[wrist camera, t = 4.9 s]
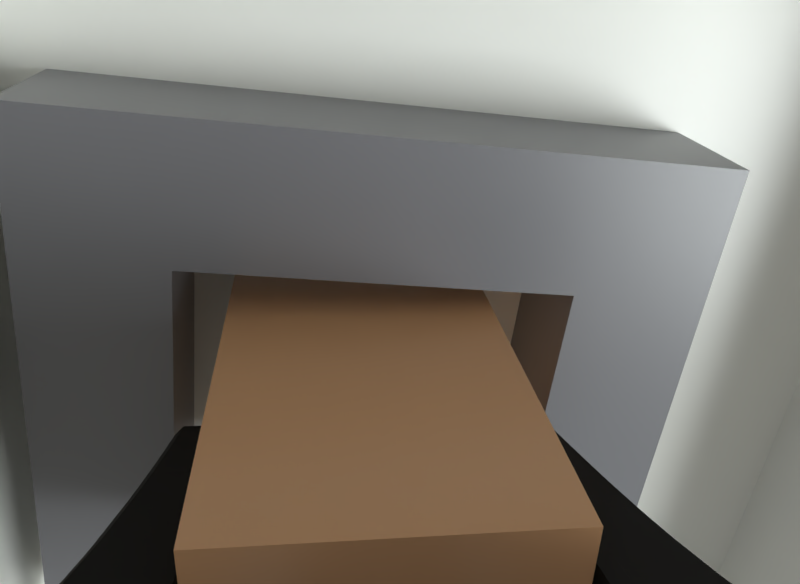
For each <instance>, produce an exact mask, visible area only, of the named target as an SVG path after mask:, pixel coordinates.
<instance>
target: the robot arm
mask: <svg viewBox="0 0 800 584" xmlns="http://www.w3.org/2000/svg"><path fill="white" fill-rule="evenodd" d="M200 429H201V426H184V427H182V428H181V429H180V430H179V431H178V432H177V433H176V434H175V435H174V437H173V438H172V440H171V441H170V443H169V444H168V446H167V447H166V449H165V450H164V452H163V453H162V455H161V456H160V458H159V459H158V461H157V462H156V463H155V465H154V466H153V468H152V469H151V470H150V472H149V473H148V475H147V476H146V477H145V479H144V480H143V481H142V483H141V484H140V485H139V487H138V488H137V490H136V491H135V492H134V494H133V495H132V496H131V498H130V499H129V500H128V502H127V503H126V504H125V505H124V507H123V508H122V509H121V510H120V512H119V513H118V514H117V516H116V517H115V518H114V519H113V521H112V522H111V523H110V524H109V526H108V527H107V528H106V529H105V531H104V532H103V533H102V534H101V536H100V537H99V538H98V540H97V541H96V542H95V543H94V544H93V546H92V547H91V548H90V549H89V551H88V552H87V553H86V554H85V555H84V556H83V558H82V559H81V560H80V561H79V562H78V563H77V564H76V566H75V567H74V568H73V569H72V570H71V571H70V572H69V574H68V575H67V576H66V577H65V578H64V579H63V580H62V581H61V583H60V584H178V583H177V575H176V567H175V559H174V551H173V550H174V546H175V541H176V537H177V532H178V528H179V523H180V519H181V514H182V510H183V505H184V501H185V496H186V492H187V487H188V483H189V478H190V474H191V469H192V465H193V460H194V456H195V451H196V447H197V443H198V438H199V434H200ZM555 432H556V431H555ZM556 434H557V436H558V438H559V440H560V442H561V444H562V446H563V448H564V450H565V452H566V454H567V456H568V458H569V460H570V462H571V464H572V466H573V468H574V470H575V472H576V474H577V476H578V478H579V480H580V481H581V483H582V485H583V487H584V489H585V491H586V493H587V495H588V497H589V499H590V501H591V503H592V505H593V507H594V509H595V511H596V513H597V515H598V517H599V519H600V521H601V523H602V525H603V532H602V537H601V542H600V547H599V552H598V557H597V562H596V567H595V572H594V577H593V582H592V584H732V583H730V582H729V581H728V580H726V579H725V578H724V577H722V576H721V575H720V574H718V573H717V572H716V571H714V570H713V569H712V568H711V567H709V566H708V565H707V564H706V563H704V562H703V561H702V560H701V559H699V558H698V557H697V556H696V555H694V554H693V553H692V552H691V551H689V550H688V549H687V548H686V547H684V546H683V545H682V544H681V543H679V542H678V541H677V540H676V539H674V538H673V537H672V536H671V535H669V534H668V533H667V532H666V531H665V530H664V529H662V528H661V527H660V526H659V525H658V524H656V523H655V522H654V521H653V520H652V519H650V518H649V517H648V516H647V515H646V514H645V513H644V512H642V511H641V510H640V509H639V508H638V507H637V506H636V505H634V504H633V503H632V502H631V501H630V500H629V499H628V498H627V497H625V496H624V495H623V494H622V493H621V492H620V491H619V490H618V489H617V488H615V487H614V486H613V485H612V484H611V483H610V482H609V481H608V480H607V479H606V478H605V477H603V476H602V475H601V474H600V473H599V472H598V471H597V470H596V469H595V468H594V467H593V466H592V465H591V464H590V463H588V462H587V461H586V460H585V459H584V458H583V457H582V456H581V455H580V454H579V453H578V452H577V451H576V450H575V449H574V448H573V447H571V446H570V445H569V444H568V443H567V442H566V441H565V440H564V439H563V438H562V437H561V436H560V435H559V434H558V433H557V432H556Z"/></svg>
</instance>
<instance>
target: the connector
mask: <svg viewBox="0 0 800 584" xmlns="http://www.w3.org/2000/svg"><path fill="white" fill-rule="evenodd" d="M602 532H603V525H602V523H601V521H600V519H599V517H598V515H597V513H596V511H595V509H594V507H593V505H592V503H591V501H590V499H589V497H588V495H587V493H586V491H585V489H584V487H583V485H582V483H581V481H580V480H579V478H578V476H577V474H576V472H575V470H574V468H573V466H572V464H571V462H570V460H569V458H568V456H567V454H566V452H565V450H564V448H563V446H562V444H561V442H560V440H559V438H558V436H557V434H556V432H555V430H554V429H553V427H552V425H551V423H550V421H549V419H548V417H547V415H546V413H545V411H544V409H543V407H542V405H541V403H540V401H539V399H538V397H537V395H536V393H535V391H534V389H533V387H532V385H531V383H530V381H529V379H528V378H527V376H526V374H525V372H524V370H523V368H522V366H521V364H520V362H519V360H518V358H517V356H516V354H515V352H514V350H513V348H512V346H511V344H510V342H509V340H508V338H507V336H506V334H505V332H504V330H503V328H502V327H501V325H500V323H499V321H498V319H497V317H496V315H495V313H494V311H493V309H492V307H491V305H490V303H489V301H488V299H487V297H486V295H485V293H484V291H483V290H471V289H455V288H439V287H423V286H407V285H391V284H375V283H359V282H343V281H326V280H310V279H294V278H278V277H262V276H246V275H235V277H234V281H233V286H232V290H231V295H230V299H229V304H228V308H227V313H226V317H225V322H224V326H223V330H222V335H221V339H220V344H219V348H218V353H217V357H216V362H215V366H214V371H213V375H212V380H211V384H210V389H209V393H208V398H207V402H206V407H205V411H204V416H203V420H202V425H201V429H200V434H199V438H198V443H197V447H196V451H195V456H194V460H193V465H192V469H191V474H190V478H189V483H188V487H187V492H186V496H185V501H184V505H183V510H182V514H181V519H180V523H179V528H178V532H177V537H176V541H175V546H174V550H173V551H174V559H175V567H176V575H177V583H178V584H592V582H593V577H594V572H595V567H596V562H597V557H598V552H599V547H600V542H601V537H602Z"/></svg>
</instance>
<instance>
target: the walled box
mask: <svg viewBox="0 0 800 584" xmlns="http://www.w3.org/2000/svg"><path fill="white" fill-rule="evenodd" d="M45 69H55V70H65V71H75V72H85V73H95V74H105V75H115V76H125V77H135V78H145V79H155V80H164V81H174V82H184V83H194V84H204V85H214V86H224V87H234V88H244V89H254V90H263V91H273V92H283V93H293V94H303V95H313V96H323V97H333V98H343V99H353V100H363V101H372V102H382V103H392V104H402V105H412V106H422V107H432V108H442V109H452V110H462V111H471V112H481V113H491V114H501V115H511V116H521V117H531V118H541V119H551V120H561V121H571V122H580V123H590V124H600V125H610V126H620V127H630V128H640V129H650V130H660V131H670V132H678V133H680V134H682V135H684V136H686V137H688V138H690V139H691V140H693V141H695V142H697V143H699V144H701V145H703V146H705V147H706V148H708V149H710V150H712V151H714V152H716V153H718V154H720V155H721V156H723V157H725V158H727V159H729V160H731V161H733V162H735V163H736V164H738V165H740V166H742V167H744V168H746V169H748V170H750V171H749V174H748V177H747V180H746V183H745V186H744V189H743V192H742V195H741V198H740V201H739V204H738V207H737V210H736V213H735V216H734V219H733V222H732V225H731V228H730V231H729V234H728V237H727V240H726V243H725V246H724V249H723V252H722V255H721V258H720V261H719V264H718V266H717V269H716V272H715V275H714V278H713V281H712V284H711V287H710V290H709V293H708V296H707V299H706V302H705V305H704V308H703V311H702V314H701V317H700V320H699V323H698V326H697V329H696V332H695V335H694V338H693V341H692V344H691V347H690V350H689V353H688V356H687V359H686V362H685V365H684V368H683V371H682V374H681V377H680V380H679V383H678V386H677V389H676V392H675V395H674V398H673V401H672V404H671V407H670V410H669V413H668V416H667V419H666V422H665V425H664V428H663V431H662V434H661V437H660V439H659V442H658V445H657V448H656V451H655V454H654V457H653V460H652V463H651V466H650V469H649V472H648V475H647V478H646V481H645V484H644V487H643V490H642V493H641V496H640V499H639V502H638V505H637V507H638V508H639V509H640V510H641V511H642V512H644V513H645V514H646V515H647V516H648V517H649V518H650V519H652V520H653V521H654V522H655V523H656V524H658V525H659V526H660V527H661V528H662V529H664V530H665V531H666V532H667V533H668V534H669V535H671V536H672V537H673V538H674V539H676V540H677V541H678V542H679V543H681V544H682V545H683V546H684V547H686V548H687V549H688V550H689V551H691V552H692V553H693V554H694V555H696V556H697V557H698V558H699V559H701V560H702V561H703V562H704V563H706V564H707V565H708V566H709V567H711V568H712V569H713V570H714V571H716V572H717V573H718V574H720V575H721V576H722V577H724V578H725V579H726V580H728V581H729V582H730V583H732V584H800V0H0V92H2V91H4V90H6V89H8V88H10V87H12V86H14V85H16V84H18V83H19V82H21V81H23V80H25V79H27V78H29V77H31V76H33V75H35V74H37V73H39V72H41V71H43V70H45ZM234 277H235V275H230V274H214V273H198V272H194V426H201V425H202V420H203V416H204V411H205V407H206V402H207V398H208V393H209V389H210V384H211V380H212V375H213V371H214V366H215V362H216V357H217V353H218V348H219V344H220V339H221V335H222V330H223V326H224V322H225V317H226V313H227V308H228V304H229V299H230V295H231V290H232V286H233V281H234ZM483 291H484V293H485V295H486V297H487V299H488V301H489V303H490V305H491V307H492V309H493V311H494V313H495V315H496V317H497V319H498V321H499V323H500V325H501V327H502V328H503V330H504V332H505V334H506V336H507V338H508V340H509V342H510V344H511V340H512V335H513V330H514V326H515V321H516V316H517V312H518V307H519V302H520V298H521V293H519V292H503V291H487V290H483ZM0 584H45V582H44V574H43V566H42V557H41V549H40V540H39V532H38V523H37V515H36V506H35V498H34V490H33V481H32V473H31V464H30V456H29V447H28V439H27V431H26V422H25V414H24V405H23V397H22V388H21V380H20V371H19V363H18V355H17V346H16V338H15V329H14V321H13V312H12V304H11V296H10V287H9V279H8V270H7V262H6V253H5V245H4V236H3V228H2V220H1V211H0Z"/></svg>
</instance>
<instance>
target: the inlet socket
mask: <svg viewBox="0 0 800 584" xmlns="http://www.w3.org/2000/svg"><path fill="white" fill-rule="evenodd" d="M749 171H750V170H748V169H746V168H744V167H742V166H740V165H738V164H736V163H735V162H733V161H731V160H729V159H727V158H725V157H723V156H721V155H720V154H718V153H716V152H714V151H712V150H710V149H708V148H706V147H705V146H703V145H701V144H699V143H697V142H695V141H693V140H691V139H690V138H688V137H686V136H684V135H682V134H680V133H678V132H670V131H660V130H650V129H640V128H630V127H620V126H610V125H600V124H590V123H580V122H571V121H561V120H551V119H541V118H531V117H521V116H511V115H501V114H491V113H481V112H471V111H462V110H452V109H442V108H432V107H422V106H412V105H402V104H392V103H382V102H372V101H363V100H353V99H343V98H333V97H323V96H313V95H303V94H293V93H283V92H273V91H263V90H254V89H244V88H234V87H224V86H214V85H204V84H194V83H184V82H174V81H164V80H155V79H145V78H135V77H125V76H115V75H105V74H95V73H85V72H75V71H65V70H55V69H45V70H43V71H41V72H39V73H37V74H35V75H33V76H31V77H29V78H27V79H25V80H23V81H21V82H19V83H18V84H16V85H14V86H12V87H10V88H8V89H6V90H4V91H2V92H0V211H1V220H2V228H3V236H4V245H5V253H6V262H7V270H8V279H9V287H10V296H11V304H12V312H13V321H14V329H15V338H16V346H17V355H18V363H19V371H20V380H21V388H22V397H23V405H24V414H25V422H26V431H27V439H28V447H29V456H30V464H31V473H32V481H33V490H34V498H35V506H36V515H37V523H38V532H39V540H40V549H41V557H42V566H43V574H44V582H45V584H60V583H61V581H62V580H63V579H64V578H65V577H66V576H67V575H68V574H69V572H70V571H71V570H72V569H73V568H74V567H75V566H76V564H77V563H78V562H79V561H80V560H81V559H82V558H83V556H84V555H85V554H86V553H87V552H88V551H89V549H90V548H91V547H92V546H93V544H94V543H95V542H96V541H97V540H98V538H99V537H100V536H101V534H102V533H103V532H104V531H105V529H106V528H107V527H108V526H109V524H110V523H111V522H112V521H113V519H114V518H115V517H116V516H117V514H118V513H119V512H120V510H121V509H122V508H123V507H124V505H125V504H126V503H127V502H128V500H129V499H130V498H131V496H132V495H133V494H134V492H135V491H136V490H137V488H138V487H139V485H140V484H141V483H142V481H143V480H144V479H145V477H146V476H147V475H148V473H149V472H150V470H151V469H152V468H153V466H154V465H155V463H156V462H157V461H158V459H159V458H160V456H161V455H162V453H163V452H164V450H165V449H166V447H167V446H168V444H169V443H170V441H171V440H172V438H173V437H174V435H175V434H176V433H177V432H178V431H179V430H180V429H181V428H182V427H184V426H194V272H198V273H214V274H230V275H246V276H262V277H278V278H294V279H310V280H326V281H343V282H359V283H375V284H391V285H407V286H423V287H439V288H455V289H471V290H487V291H503V292H519V293H521V298H520V302H519V307H518V312H517V316H516V321H515V326H514V330H513V335H512V340H511V346H512V348H513V350H514V352H515V354H516V356H517V358H518V360H519V362H520V364H521V366H522V368H523V370H524V372H525V374H526V376H527V378H528V379H529V381H530V383H531V385H532V387H533V389H534V391H535V393H536V395H537V397H538V399H539V401H540V403H541V405H542V407H543V409H544V411H545V413H546V415H547V417H548V419H549V421H550V423H551V425H552V427H553V429H554V430H555V431H556V432H557V433H558V434H559V435H560V436H561V437H562V438H563V439H564V440H565V441H566V442H567V443H568V444H569V445H570V446H571V447H573V448H574V449H575V450H576V451H577V452H578V453H579V454H580V455H581V456H582V457H583V458H584V459H585V460H586V461H587V462H588V463H590V464H591V465H592V466H593V467H594V468H595V469H596V470H597V471H598V472H599V473H600V474H601V475H602V476H603V477H605V478H606V479H607V480H608V481H609V482H610V483H611V484H612V485H613V486H614V487H615V488H617V489H618V490H619V491H620V492H621V493H622V494H623V495H624V496H625V497H627V498H628V499H629V500H630V501H631V502H632V503H633V504H634V505H636V506H637V505H638V502H639V499H640V496H641V493H642V490H643V487H644V484H645V481H646V478H647V475H648V472H649V469H650V466H651V463H652V460H653V457H654V454H655V451H656V448H657V445H658V442H659V439H660V437H661V434H662V431H663V428H664V425H665V422H666V419H667V416H668V413H669V410H670V407H671V404H672V401H673V398H674V395H675V392H676V389H677V386H678V383H679V380H680V377H681V374H682V371H683V368H684V365H685V362H686V359H687V356H688V353H689V350H690V347H691V344H692V341H693V338H694V335H695V332H696V329H697V326H698V323H699V320H700V317H701V314H702V311H703V308H704V305H705V302H706V299H707V296H708V293H709V290H710V287H711V284H712V281H713V278H714V275H715V272H716V269H717V266H718V264H719V261H720V258H721V255H722V252H723V249H724V246H725V243H726V240H727V237H728V234H729V231H730V228H731V225H732V222H733V219H734V216H735V213H736V210H737V207H738V204H739V201H740V198H741V195H742V192H743V189H744V186H745V183H746V180H747V177H748V174H749Z"/></svg>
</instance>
